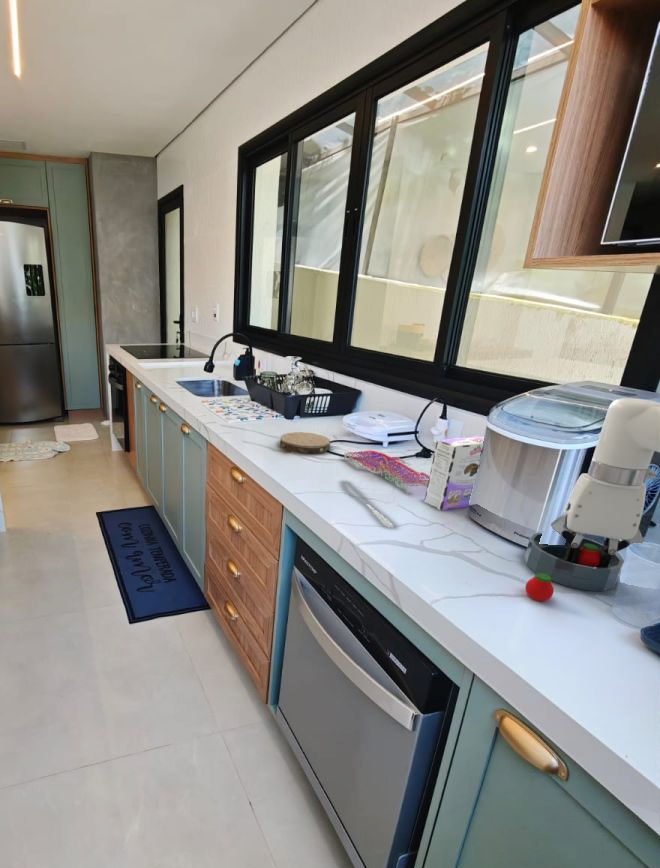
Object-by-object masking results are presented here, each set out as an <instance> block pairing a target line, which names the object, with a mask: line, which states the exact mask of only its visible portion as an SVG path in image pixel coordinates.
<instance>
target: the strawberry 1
mask: <svg viewBox="0 0 660 868" xmlns="http://www.w3.org/2000/svg"><path fill="white" fill-rule="evenodd" d="M524 588H525V589H524V590H525V593H526V595H527V596H528V597H529V598H530V599H532V600H534V601H538V602H546V601H548V600H550V599H551V598H552V597H553V595H554V592H555V591H554V590H555V589H554V586H553V584H552V581H551V577H550V576H548V575H546V574H543V573H536V574H535V575H534V576H533V577H531V578H530V579H528V581H526V583H525V587H524Z"/></svg>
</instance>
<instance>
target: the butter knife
mask: <svg viewBox="0 0 660 868" xmlns="http://www.w3.org/2000/svg"><path fill="white" fill-rule="evenodd" d="M366 506H367V507H368V508H369V509H370V510H371V511H372V514H374V516H375V517H376V518H377V519H378V520H379V521H380V522H381V523H382V524H383V525H384V526H385V527H386V528H394V527H395V526H394V524H393V523H392V522H391V521H390V520H389V519H388V518H387V517H386V516H384V515H383V514H382V513H380V512H379V511H378V510H377V509H375V507H373V506H371V505H370V504H369V503H366Z"/></svg>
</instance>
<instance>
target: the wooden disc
mask: <svg viewBox="0 0 660 868" xmlns="http://www.w3.org/2000/svg"><path fill="white" fill-rule="evenodd" d="M279 443H280V444H279V448H280V449H281V450H283V451H285V452H287V453H290V454H291V453H297V454H305V455H318V454H324V453H326V452H328V451H329V450H330V446H331V445H330V444H331V440H330V438H328V437H327V436H324V435H323V434H318V433H313V432H303V431H297V432H295V431H293V432H287V433H283V434H282V435H280V439H279Z"/></svg>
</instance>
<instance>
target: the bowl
mask: <svg viewBox="0 0 660 868" xmlns="http://www.w3.org/2000/svg"><path fill="white" fill-rule="evenodd" d="M541 536H542V533H539V532H534V533H533V534H532V535H531V536H530V537H529V541H528V543H527V547H526V551H525V554H524V556H523V557H524V561H525V564H526V566H527V567H528V568H529V569H531V570H532V571H533V572H534V573H536V574H537V573H543V574H546V575H548V576H550V577H551V582H554V583H557V584H559V585H562V586H565V587H567V588H572V589H577V590H581V591H588V592H603V591H604V592H605V591H608V590H611V589H614V588H615V585H616V583H617V581H618V579H619V577H620V573H621V571H622V568H623V566H624V563H625V560H624V558H623V557H622V556H621V554H620V553H618V552H617V553H616V554H615V555H612V557H611V559H610V562H609V565H608V568H605V567H589V566H584V565H579V564H574V563H571V562H568V561H565V554H566V551H567V548H568V545H569V543H568V542H567V541H566V543H565V545H548V544H539V542H540V538H541ZM585 543H588V544H593V545H595V546H597V547H598V549H599V548H600V547H603V546H604V543H601V542H598V541H596V540H594V539H591V538H587V537H585V536H584V537H583V539H582V541H581V543H580V547H579V548H581V547H583V545H584V544H585Z"/></svg>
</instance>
